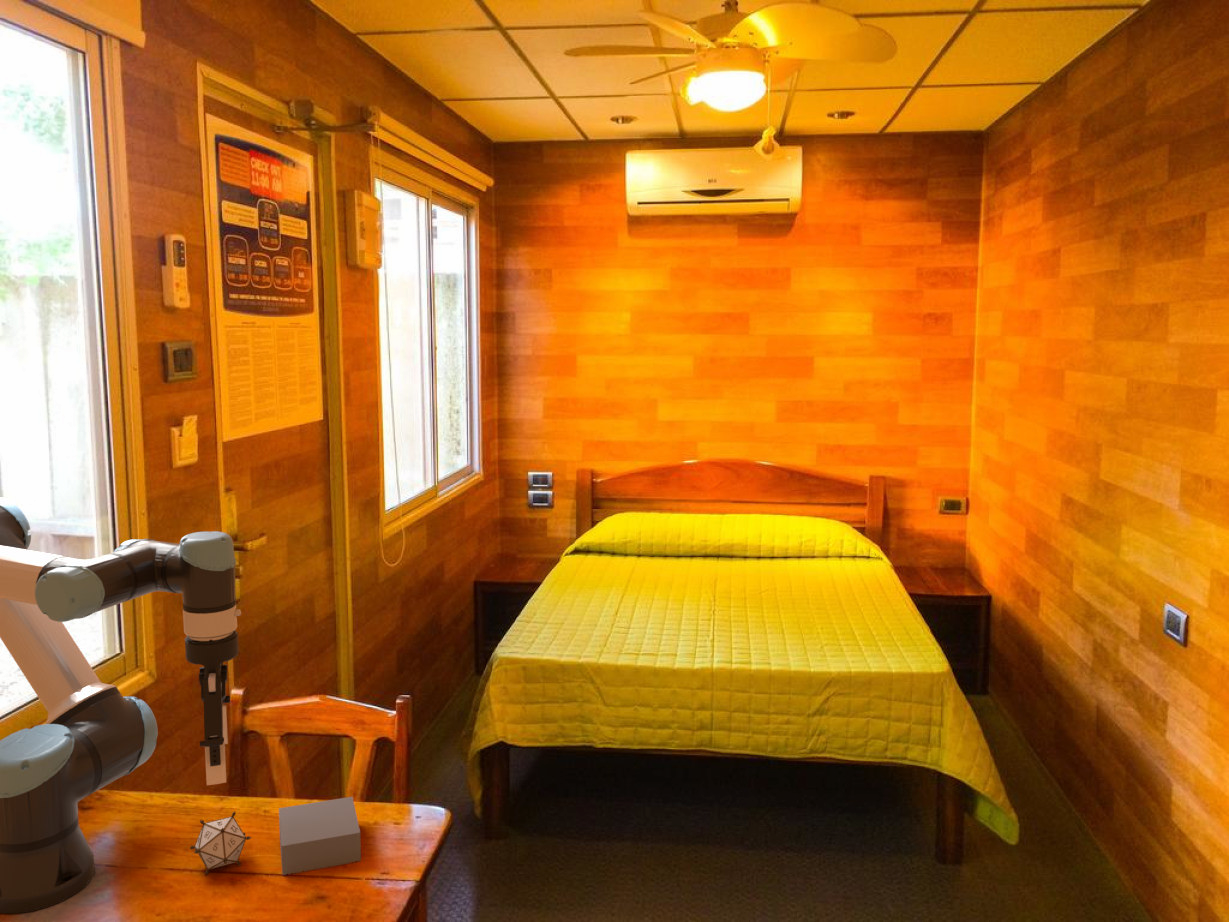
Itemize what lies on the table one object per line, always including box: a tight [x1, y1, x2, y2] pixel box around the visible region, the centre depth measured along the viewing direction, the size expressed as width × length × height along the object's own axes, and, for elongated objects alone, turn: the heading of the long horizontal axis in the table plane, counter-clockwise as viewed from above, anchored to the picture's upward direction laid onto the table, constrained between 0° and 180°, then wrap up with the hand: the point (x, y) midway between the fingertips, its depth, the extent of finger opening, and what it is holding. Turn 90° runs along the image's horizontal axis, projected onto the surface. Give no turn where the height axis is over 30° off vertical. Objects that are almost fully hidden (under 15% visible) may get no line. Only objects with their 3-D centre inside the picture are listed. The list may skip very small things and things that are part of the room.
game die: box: [189, 811, 252, 876], centre depth 149 cm, size 9×8×10 cm
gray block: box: [278, 796, 362, 876], centre depth 154 cm, size 12×12×5 cm
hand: (217, 762), depth 147 cm, fingers open, 13 cm apart
